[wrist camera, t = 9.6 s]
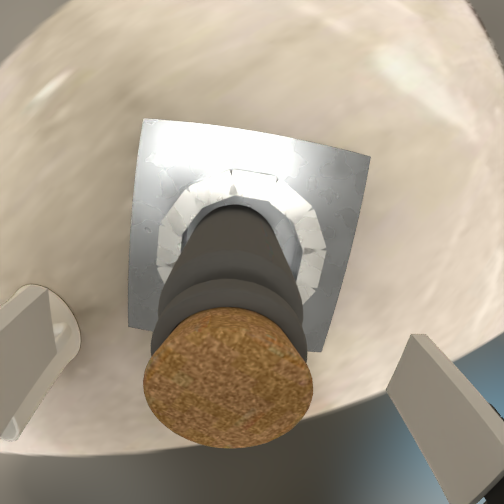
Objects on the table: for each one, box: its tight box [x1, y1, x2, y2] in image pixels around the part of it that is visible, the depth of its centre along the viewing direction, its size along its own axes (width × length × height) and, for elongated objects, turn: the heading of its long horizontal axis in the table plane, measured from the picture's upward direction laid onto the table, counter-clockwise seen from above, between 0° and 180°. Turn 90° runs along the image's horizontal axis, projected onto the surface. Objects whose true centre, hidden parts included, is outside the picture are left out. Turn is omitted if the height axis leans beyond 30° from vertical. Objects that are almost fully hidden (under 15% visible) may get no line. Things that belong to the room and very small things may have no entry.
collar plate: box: [128, 118, 371, 352], centre depth 22 cm, size 16×16×4 cm
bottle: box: [143, 205, 313, 448], centre depth 15 cm, size 6×6×15 cm
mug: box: [0, 285, 81, 441], centre depth 19 cm, size 12×8×12 cm
